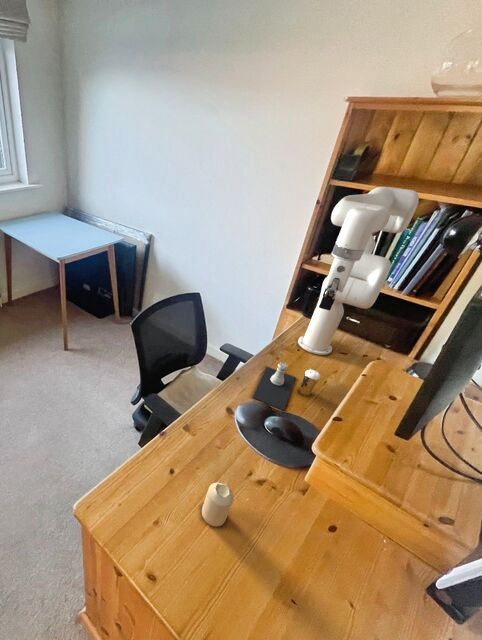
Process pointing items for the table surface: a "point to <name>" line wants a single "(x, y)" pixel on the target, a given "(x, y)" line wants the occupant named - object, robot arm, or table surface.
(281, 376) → the rook chess piece
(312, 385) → the milkshake
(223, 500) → the candle
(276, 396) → the felt mat
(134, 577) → the table surface
